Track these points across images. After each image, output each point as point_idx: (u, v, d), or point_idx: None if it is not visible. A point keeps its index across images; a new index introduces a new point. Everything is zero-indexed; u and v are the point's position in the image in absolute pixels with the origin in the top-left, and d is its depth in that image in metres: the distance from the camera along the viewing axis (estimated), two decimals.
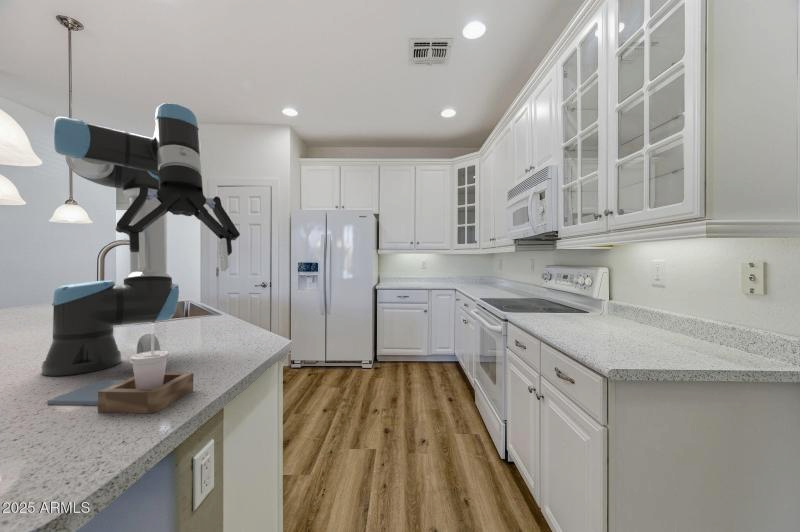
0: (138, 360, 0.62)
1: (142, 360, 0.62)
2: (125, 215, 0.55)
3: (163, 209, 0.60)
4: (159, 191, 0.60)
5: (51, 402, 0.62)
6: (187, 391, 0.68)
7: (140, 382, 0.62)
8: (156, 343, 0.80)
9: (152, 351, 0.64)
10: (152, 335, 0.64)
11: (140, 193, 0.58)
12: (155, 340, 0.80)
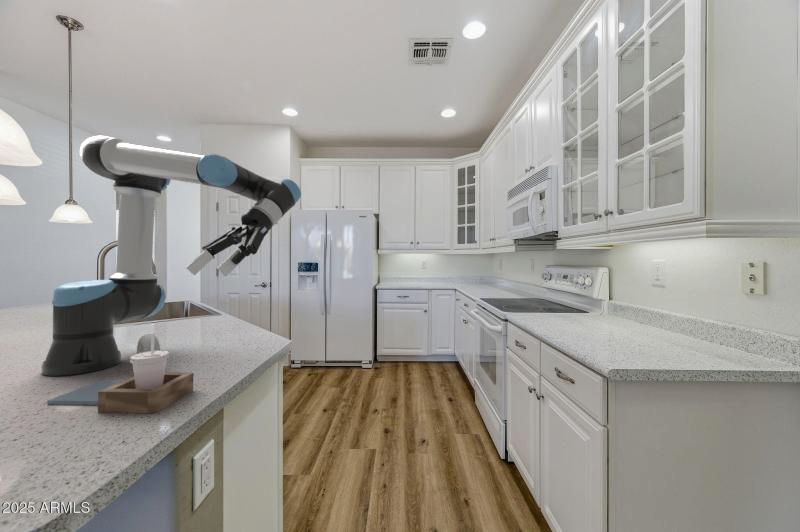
0: (138, 360, 0.62)
1: (142, 360, 0.62)
2: None
3: None
4: None
5: (51, 402, 0.62)
6: (187, 391, 0.68)
7: (140, 382, 0.62)
8: (156, 343, 0.80)
9: (152, 351, 0.64)
10: (152, 335, 0.64)
11: None
12: (155, 340, 0.80)
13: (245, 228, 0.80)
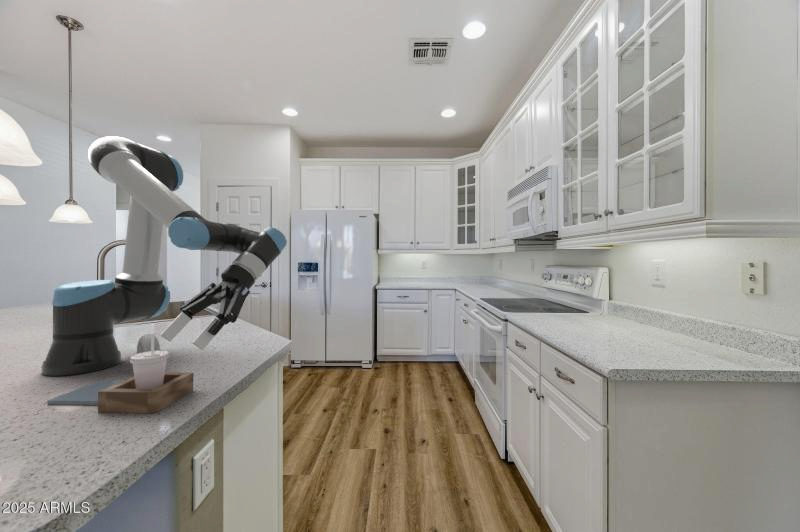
0: (138, 360, 0.62)
1: (142, 360, 0.62)
2: None
3: None
4: None
5: (51, 402, 0.62)
6: (187, 391, 0.68)
7: (140, 382, 0.62)
8: (156, 343, 0.80)
9: (152, 351, 0.64)
10: (152, 335, 0.64)
11: None
12: (155, 340, 0.80)
13: (225, 289, 0.75)
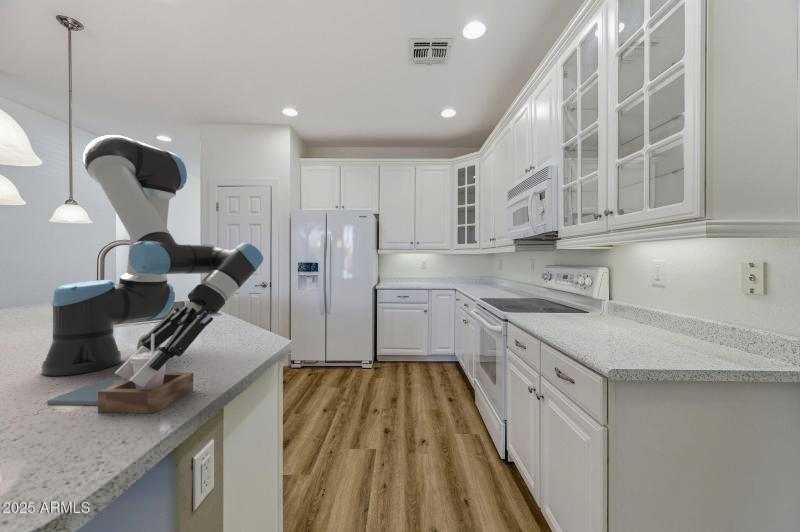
0: (138, 360, 0.62)
1: (142, 360, 0.62)
2: None
3: None
4: None
5: (51, 402, 0.62)
6: (187, 391, 0.68)
7: None
8: None
9: (152, 351, 0.64)
10: (152, 335, 0.64)
11: None
12: None
13: (188, 313, 0.69)
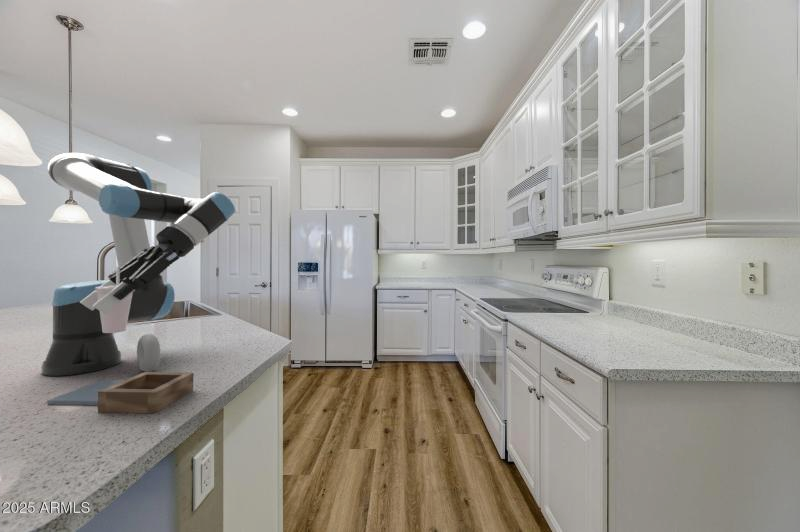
0: (102, 289, 0.64)
1: (106, 289, 0.64)
2: (152, 280, 0.67)
3: None
4: None
5: (51, 402, 0.62)
6: (187, 391, 0.68)
7: None
8: (156, 343, 0.80)
9: (117, 283, 0.67)
10: (117, 268, 0.66)
11: None
12: (155, 340, 0.80)
13: (154, 251, 0.71)
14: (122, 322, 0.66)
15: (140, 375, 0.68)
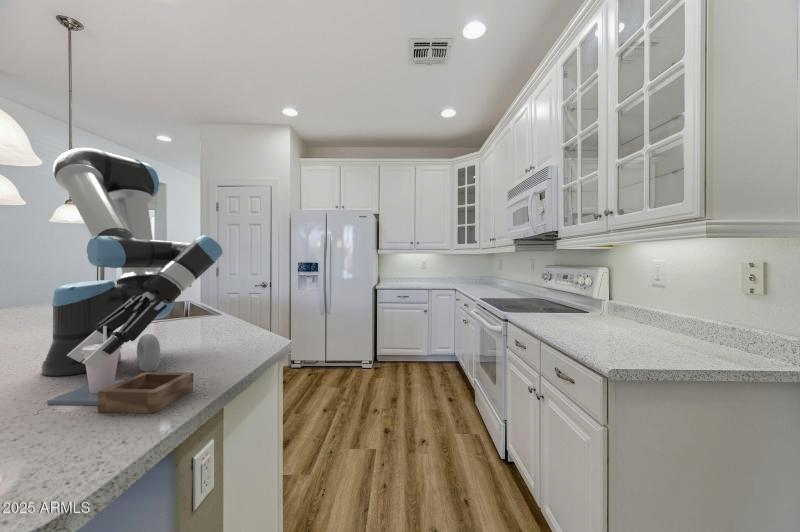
0: (89, 351, 0.65)
1: (92, 351, 0.65)
2: (141, 331, 0.68)
3: None
4: None
5: (51, 402, 0.62)
6: (187, 391, 0.68)
7: (91, 372, 0.65)
8: (156, 343, 0.80)
9: None
10: (104, 327, 0.67)
11: None
12: (155, 340, 0.80)
13: (141, 301, 0.72)
14: (109, 381, 0.67)
15: (140, 375, 0.68)
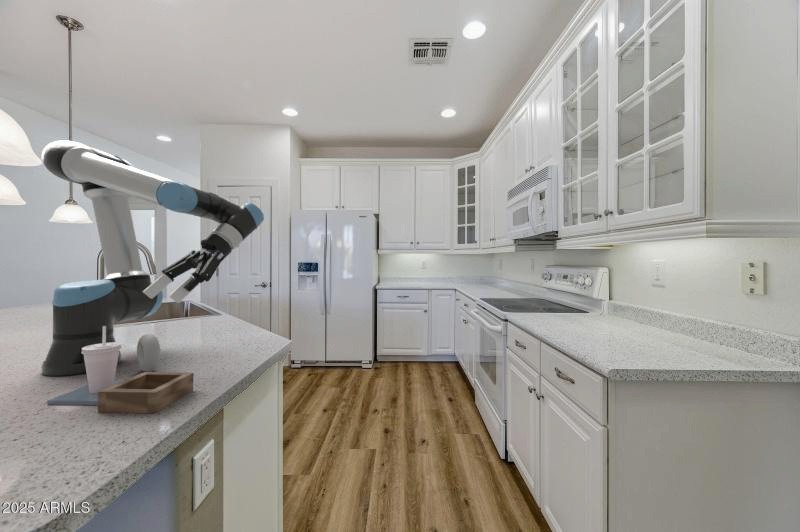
0: (88, 351, 0.65)
1: (92, 351, 0.65)
2: None
3: None
4: None
5: (51, 402, 0.62)
6: (187, 391, 0.68)
7: (91, 372, 0.65)
8: (156, 343, 0.80)
9: (103, 342, 0.67)
10: (103, 327, 0.67)
11: None
12: (155, 340, 0.80)
13: (202, 254, 0.83)
14: (109, 381, 0.67)
15: (140, 375, 0.68)
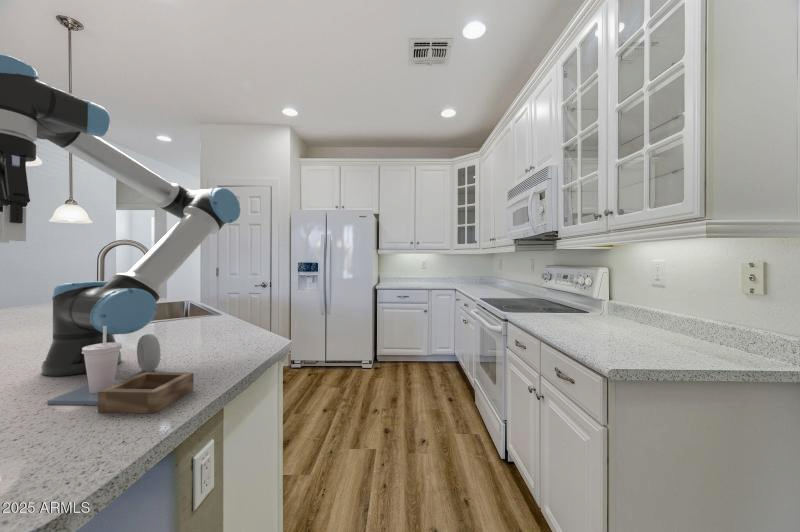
0: (89, 351, 0.65)
1: (93, 351, 0.65)
2: None
3: None
4: None
5: (51, 402, 0.62)
6: (187, 391, 0.68)
7: (91, 372, 0.65)
8: (156, 343, 0.80)
9: (104, 342, 0.67)
10: (104, 327, 0.67)
11: None
12: (155, 340, 0.80)
13: None
14: (109, 381, 0.67)
15: (140, 375, 0.68)
